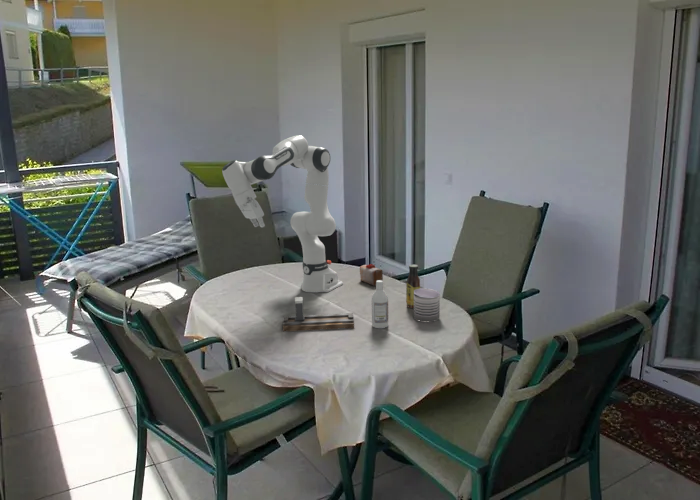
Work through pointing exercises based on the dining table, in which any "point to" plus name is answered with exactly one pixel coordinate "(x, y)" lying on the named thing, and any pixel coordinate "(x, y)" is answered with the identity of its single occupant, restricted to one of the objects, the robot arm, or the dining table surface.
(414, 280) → the sauce bottle
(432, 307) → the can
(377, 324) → the bath foam
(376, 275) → the food item
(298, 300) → the fader knob
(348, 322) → the fader console
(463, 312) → the dining table surface
